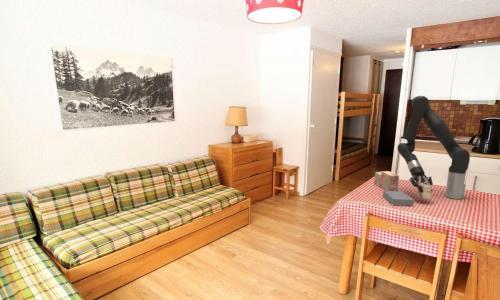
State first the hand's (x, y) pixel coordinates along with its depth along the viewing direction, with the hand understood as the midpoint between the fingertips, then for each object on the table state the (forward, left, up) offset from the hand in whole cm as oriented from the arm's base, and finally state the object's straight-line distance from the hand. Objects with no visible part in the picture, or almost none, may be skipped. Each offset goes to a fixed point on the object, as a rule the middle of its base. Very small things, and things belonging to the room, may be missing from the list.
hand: (426, 192), depth 171 cm
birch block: (0, -2, -4) cm, 5 cm away
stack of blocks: (+12, -31, -8) cm, 35 cm away
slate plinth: (+16, -3, -8) cm, 18 cm away
